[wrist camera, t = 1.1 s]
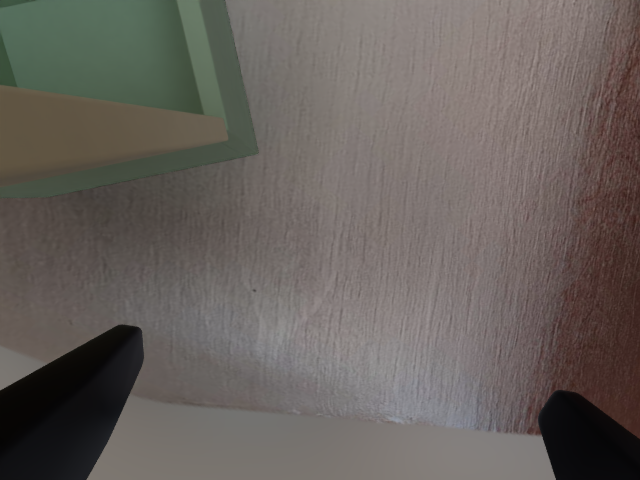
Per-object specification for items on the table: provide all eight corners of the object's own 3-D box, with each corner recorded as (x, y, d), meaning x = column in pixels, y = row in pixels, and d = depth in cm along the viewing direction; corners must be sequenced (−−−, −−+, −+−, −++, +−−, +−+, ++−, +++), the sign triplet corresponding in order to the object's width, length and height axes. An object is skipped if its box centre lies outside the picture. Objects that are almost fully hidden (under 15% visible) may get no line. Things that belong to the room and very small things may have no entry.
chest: (-13, 4, 19) (-230, -123, 11) (215, -42, 19) (152, -200, 11) (47, 197, 21) (-110, 200, 13) (259, 153, 21) (229, 130, 13)
